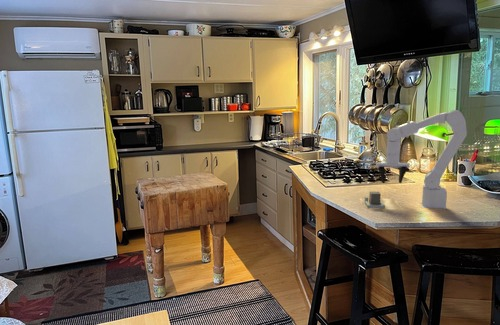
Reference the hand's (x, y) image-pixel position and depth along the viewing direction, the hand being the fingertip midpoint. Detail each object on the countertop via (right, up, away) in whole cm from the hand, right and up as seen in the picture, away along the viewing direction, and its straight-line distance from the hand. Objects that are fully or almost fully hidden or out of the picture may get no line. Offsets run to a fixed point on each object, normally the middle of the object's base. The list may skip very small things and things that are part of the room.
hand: (391, 182), depth 174 cm
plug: (-9, -10, -1) cm, 13 cm away
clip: (-9, -9, +2) cm, 13 cm away
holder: (-10, -10, -5) cm, 15 cm away
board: (-6, -10, -3) cm, 12 cm away
